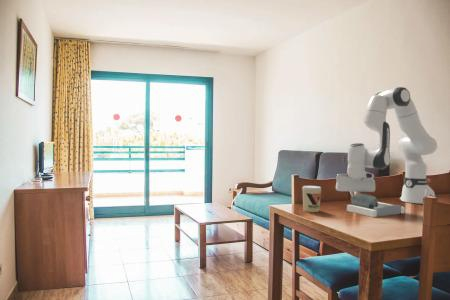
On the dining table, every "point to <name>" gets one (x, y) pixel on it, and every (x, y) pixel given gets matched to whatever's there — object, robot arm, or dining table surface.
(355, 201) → the grey-green rounded block
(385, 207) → the notched board
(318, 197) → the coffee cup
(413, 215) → the dining table surface
